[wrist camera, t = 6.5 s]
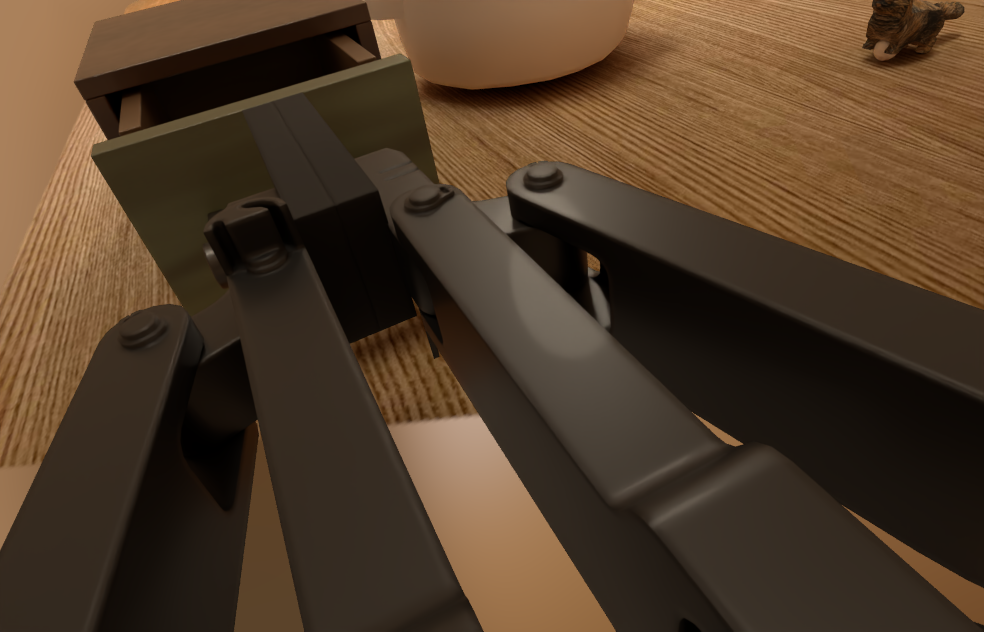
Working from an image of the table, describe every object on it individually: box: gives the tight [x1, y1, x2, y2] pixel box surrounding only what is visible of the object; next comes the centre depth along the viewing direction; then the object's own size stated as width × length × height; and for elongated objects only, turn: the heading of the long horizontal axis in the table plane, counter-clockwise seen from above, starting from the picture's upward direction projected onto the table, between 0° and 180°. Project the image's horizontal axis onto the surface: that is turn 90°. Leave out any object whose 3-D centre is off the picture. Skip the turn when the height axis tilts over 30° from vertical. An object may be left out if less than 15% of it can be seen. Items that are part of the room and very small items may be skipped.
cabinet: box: [74, 0, 381, 140], centre depth 35 cm, size 15×13×10 cm
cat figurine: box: [862, 0, 964, 61], centre depth 37 cm, size 3×8×4 cm, turn 116°
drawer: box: [91, 30, 439, 317], centre depth 27 cm, size 18×11×8 cm, turn 26°
